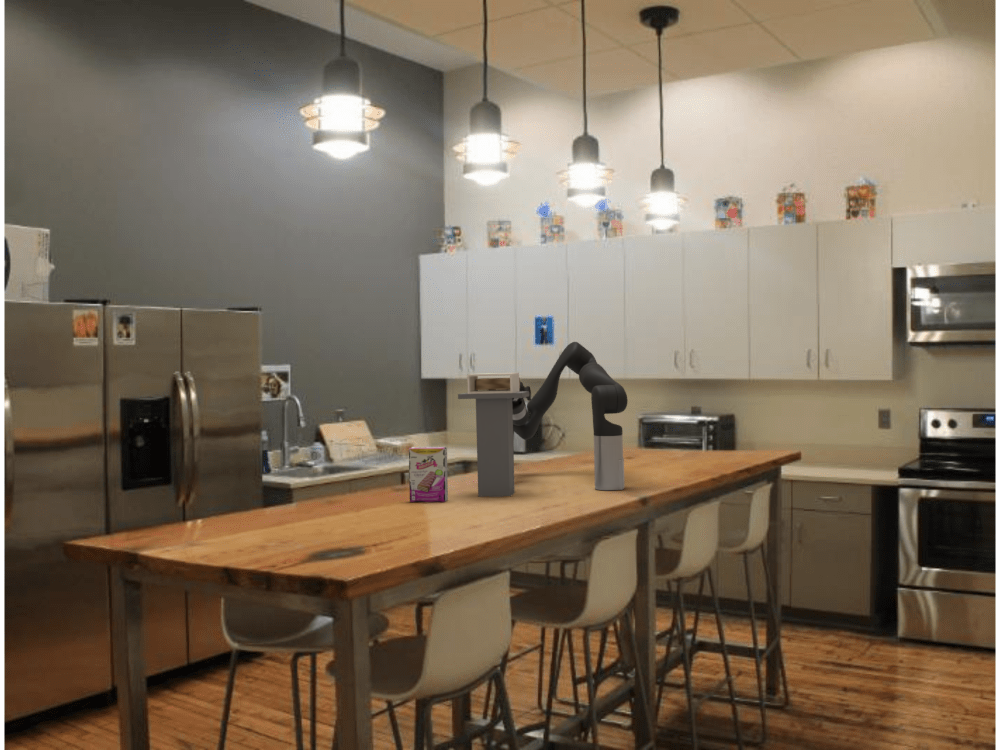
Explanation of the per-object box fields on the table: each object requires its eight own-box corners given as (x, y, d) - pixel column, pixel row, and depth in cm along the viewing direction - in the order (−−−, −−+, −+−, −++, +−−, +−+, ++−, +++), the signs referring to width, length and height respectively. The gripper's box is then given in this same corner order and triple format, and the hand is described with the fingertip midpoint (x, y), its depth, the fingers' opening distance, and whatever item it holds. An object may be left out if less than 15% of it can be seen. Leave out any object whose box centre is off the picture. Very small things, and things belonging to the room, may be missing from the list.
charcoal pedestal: (531, 492, 313) (529, 391, 312) (524, 497, 300) (521, 392, 300) (470, 491, 317) (467, 392, 316) (460, 497, 304) (457, 394, 304)
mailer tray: (525, 387, 330) (525, 376, 330) (513, 389, 308) (513, 378, 308) (490, 387, 332) (490, 377, 332) (476, 390, 311) (475, 379, 311)
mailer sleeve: (519, 391, 313) (518, 372, 312) (512, 393, 301) (511, 373, 301) (476, 392, 315) (475, 373, 315) (467, 393, 304) (467, 374, 303)
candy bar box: (409, 502, 296) (407, 448, 296) (412, 500, 301) (410, 446, 301) (446, 502, 295) (444, 447, 295) (448, 499, 300) (447, 446, 300)
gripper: (495, 396, 345) (486, 373, 331) (535, 395, 342) (528, 373, 328) (493, 415, 342) (484, 393, 328) (534, 414, 339) (526, 393, 325)
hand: (506, 383), depth 328 cm, fingers open, 8 cm apart
